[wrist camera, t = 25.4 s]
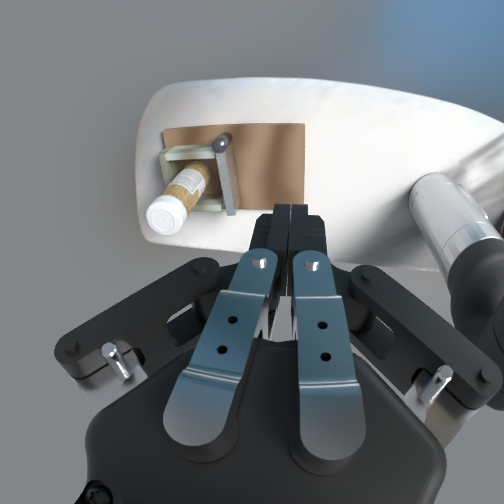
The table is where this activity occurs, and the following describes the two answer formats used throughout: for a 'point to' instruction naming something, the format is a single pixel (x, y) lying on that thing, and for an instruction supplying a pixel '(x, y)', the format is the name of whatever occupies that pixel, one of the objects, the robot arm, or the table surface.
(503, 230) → the food container
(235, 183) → the bar
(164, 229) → the tan spice jar
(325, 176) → the table surface
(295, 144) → the cradle board
